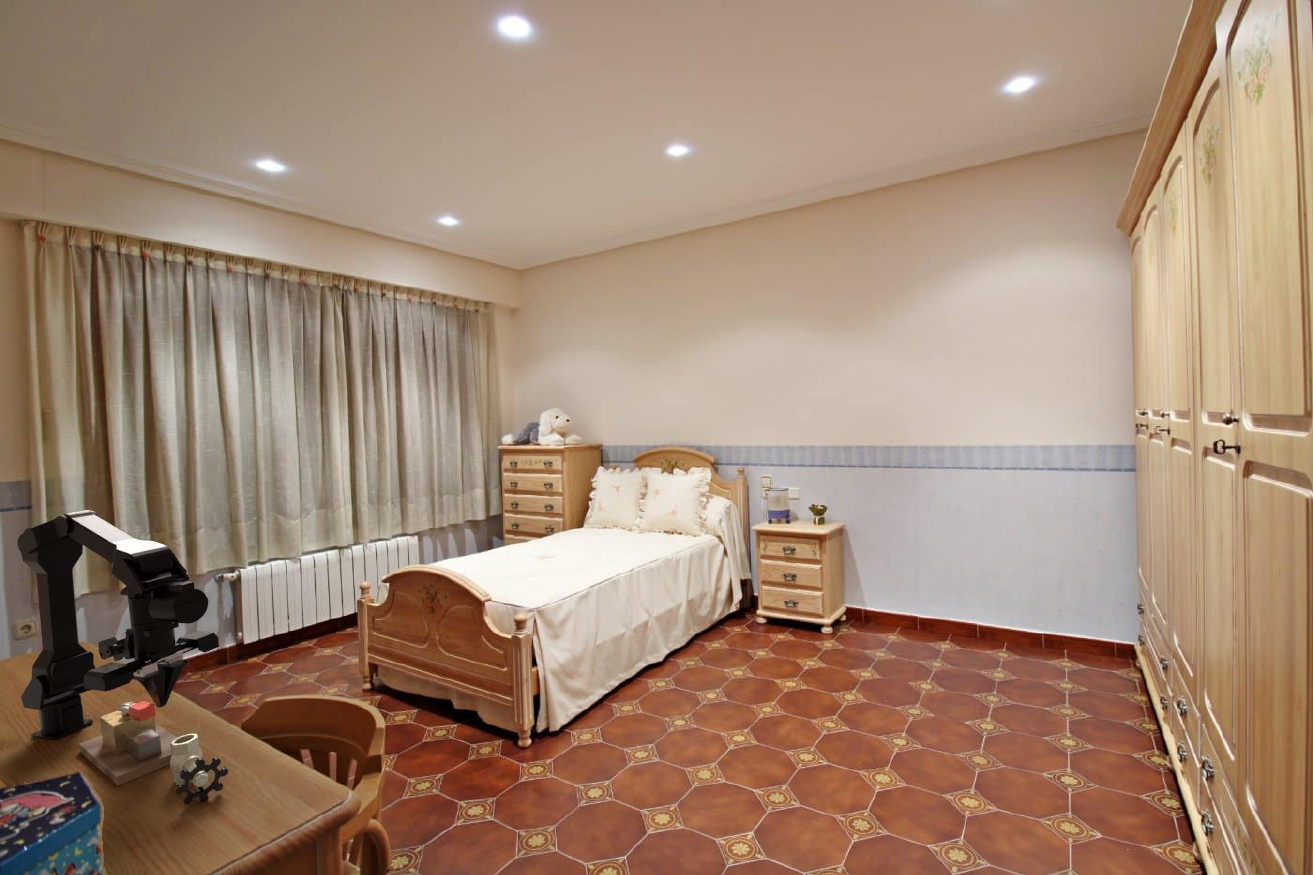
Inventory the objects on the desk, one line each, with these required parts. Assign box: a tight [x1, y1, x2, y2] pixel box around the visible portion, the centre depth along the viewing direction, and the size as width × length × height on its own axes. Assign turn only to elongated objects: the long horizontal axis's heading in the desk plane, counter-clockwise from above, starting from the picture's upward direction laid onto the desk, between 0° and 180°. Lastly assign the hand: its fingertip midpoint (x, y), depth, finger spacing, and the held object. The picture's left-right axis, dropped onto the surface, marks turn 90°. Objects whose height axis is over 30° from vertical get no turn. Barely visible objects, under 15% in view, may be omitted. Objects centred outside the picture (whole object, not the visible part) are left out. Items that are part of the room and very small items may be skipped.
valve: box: [169, 733, 229, 806], centre depth 98 cm, size 7×7×12 cm
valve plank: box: [78, 722, 179, 787], centre depth 109 cm, size 20×10×2 cm, turn 56°
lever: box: [118, 700, 157, 722], centre depth 108 cm, size 8×2×2 cm, turn 64°
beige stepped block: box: [99, 709, 162, 761], centre depth 109 cm, size 16×6×6 cm, turn 56°
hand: (161, 706), depth 110 cm, fingers closed
